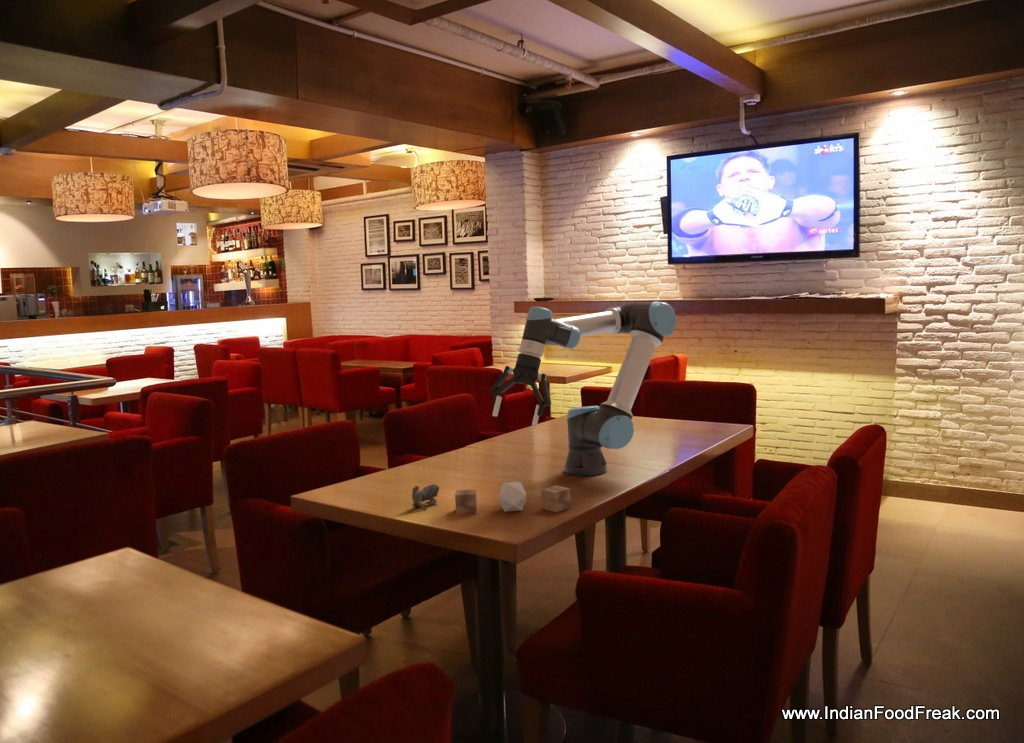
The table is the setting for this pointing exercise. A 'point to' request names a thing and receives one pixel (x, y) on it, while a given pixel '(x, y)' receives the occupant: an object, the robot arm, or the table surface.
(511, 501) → the die
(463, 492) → the walnut block
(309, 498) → the table surface
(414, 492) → the dog figurine
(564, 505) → the walnut block
